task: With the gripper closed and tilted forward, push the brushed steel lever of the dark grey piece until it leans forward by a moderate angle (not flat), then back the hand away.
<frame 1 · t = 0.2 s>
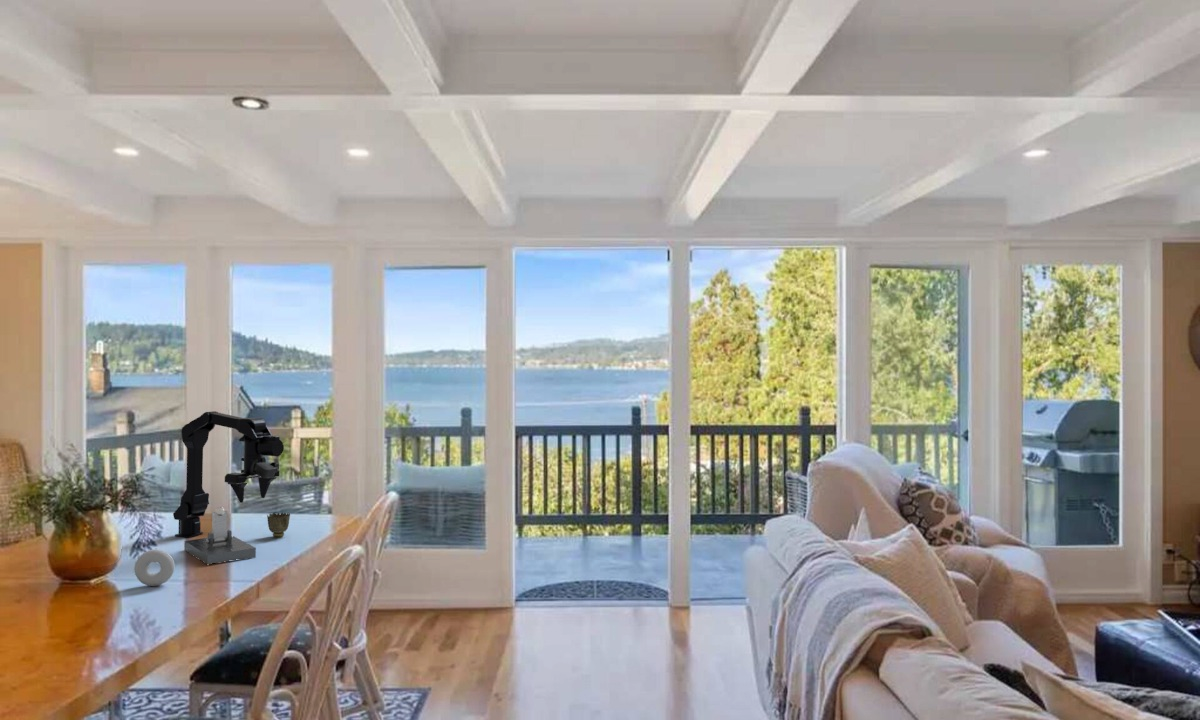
hand: (252, 500, 256), 14 cm above the table, tool pointing down, fingers open, 9 cm apart
lever: (219, 524, 240), point 9 cm above the table, hinge at 0.0°
cup: (278, 537, 263), on the table
donut: (154, 586, 206), on the table
dark grey piece: (219, 553, 240), on the table
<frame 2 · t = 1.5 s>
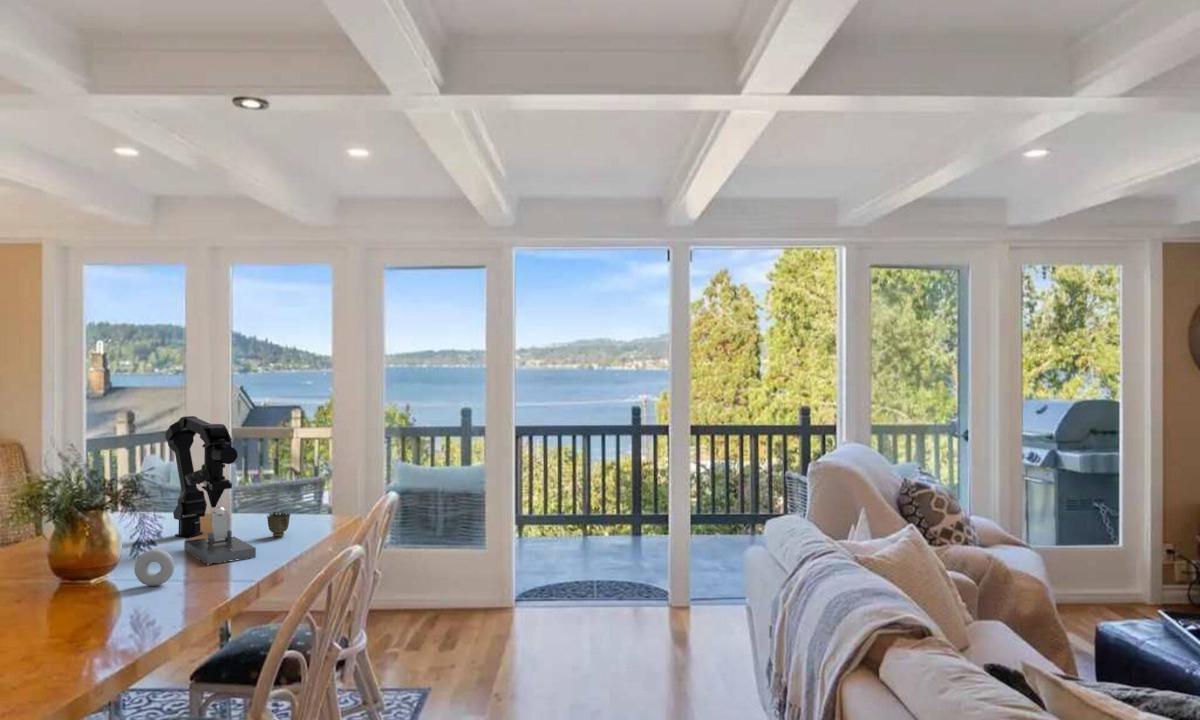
hand: (213, 507, 254), 12 cm above the table, tool pointing down, fingers closed
nothing on the table moved.
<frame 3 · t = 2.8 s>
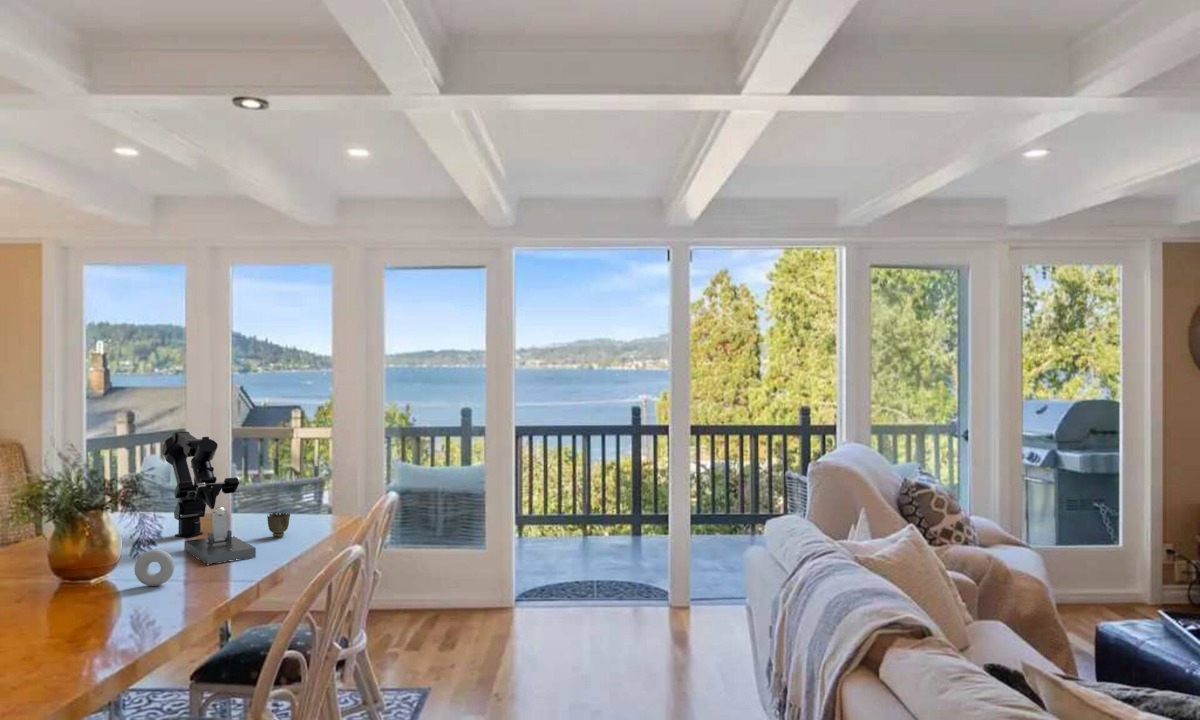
hand: (212, 508, 246), 13 cm above the table, tool tilted 45°, fingers closed
nothing on the table moved.
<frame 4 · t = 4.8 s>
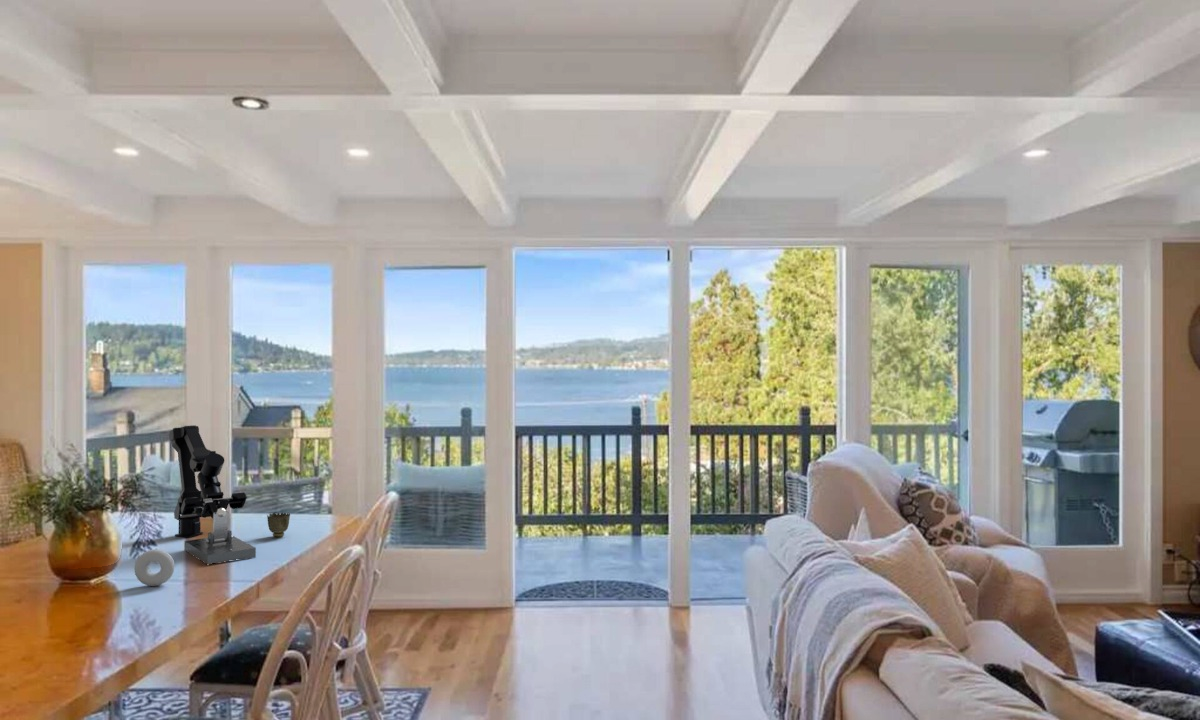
hand: (220, 524, 240), 9 cm above the table, tool tilted 45°, fingers closed, pressing on lever
lever: (220, 525, 239), point 9 cm above the table, hinge at 8.0°, touching gripper
everything else where it was.
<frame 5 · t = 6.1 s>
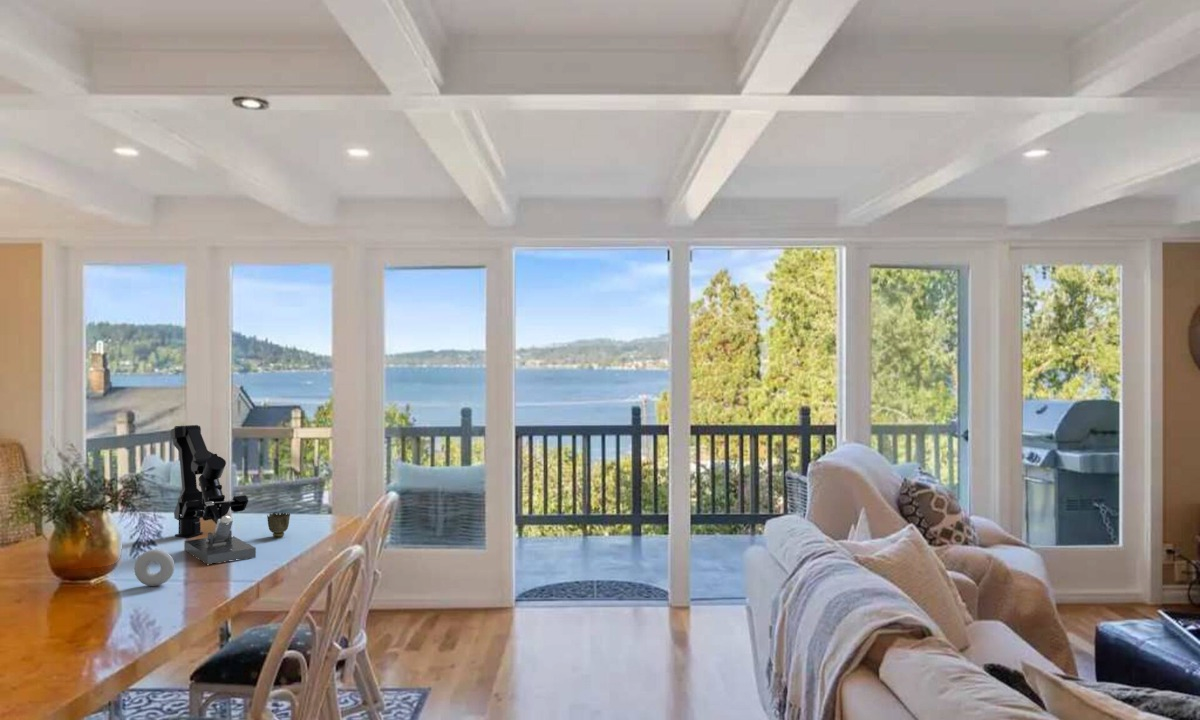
hand: (221, 527, 239), 9 cm above the table, tool tilted 45°, fingers closed
lever: (222, 529, 238), point 8 cm above the table, hinge at 37.2°
everything else where it was.
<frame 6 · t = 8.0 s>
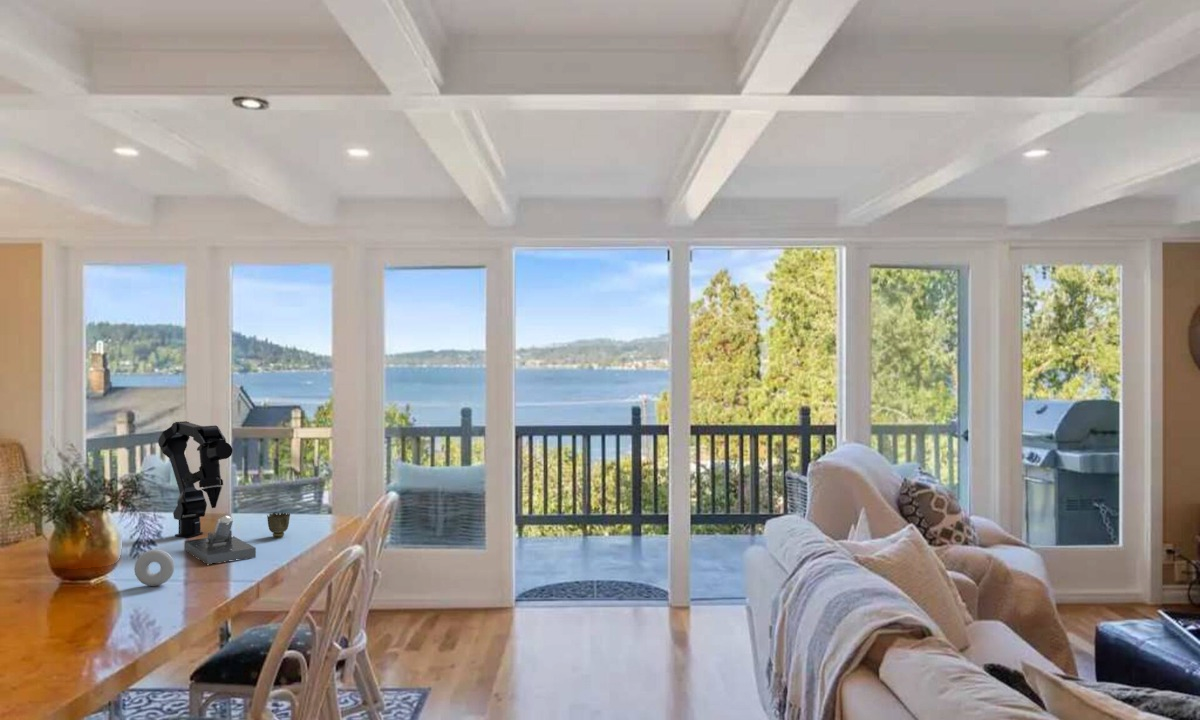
hand: (213, 507, 254), 12 cm above the table, tool pointing down, fingers closed
nothing on the table moved.
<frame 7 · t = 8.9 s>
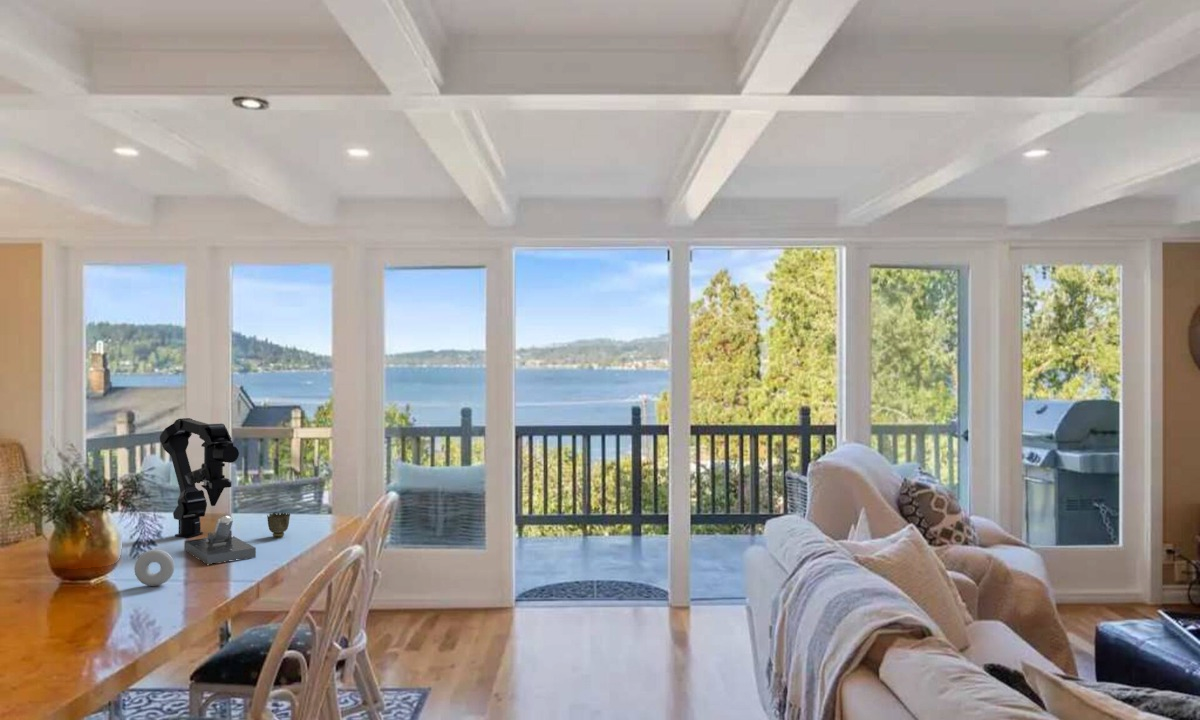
hand: (213, 505, 256), 12 cm above the table, tool pointing down, fingers closed
nothing on the table moved.
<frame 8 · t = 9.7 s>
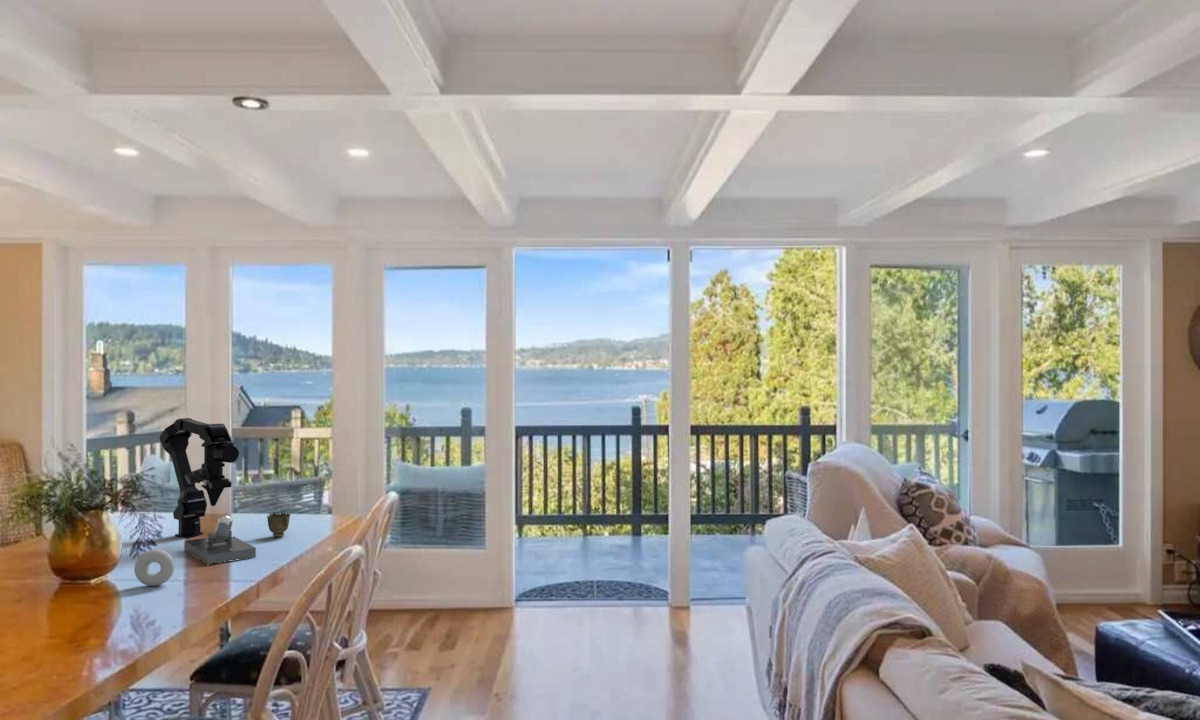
hand: (213, 505, 256), 12 cm above the table, tool pointing down, fingers closed
nothing on the table moved.
at the end: lever at +37° (first picture: +0°); cup moved 0.2 cm from its start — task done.
